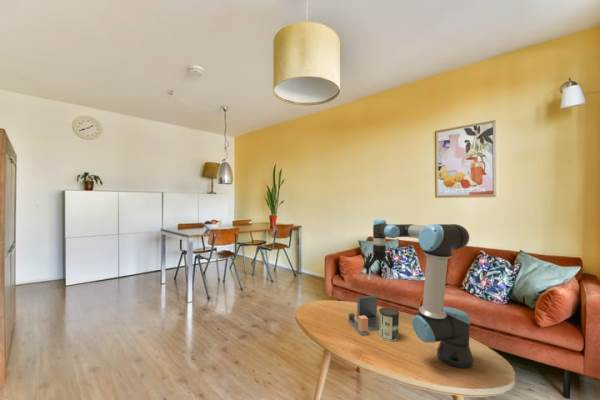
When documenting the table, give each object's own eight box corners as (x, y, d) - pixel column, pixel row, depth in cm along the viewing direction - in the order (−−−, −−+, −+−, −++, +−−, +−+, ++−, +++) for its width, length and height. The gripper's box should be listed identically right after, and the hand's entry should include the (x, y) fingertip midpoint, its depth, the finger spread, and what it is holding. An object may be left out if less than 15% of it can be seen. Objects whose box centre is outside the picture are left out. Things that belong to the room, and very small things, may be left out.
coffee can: (394, 332, 158) (395, 307, 158) (401, 341, 148) (401, 315, 148) (376, 331, 158) (377, 307, 158) (381, 341, 148) (382, 314, 148)
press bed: (388, 328, 162) (388, 304, 162) (369, 331, 159) (370, 306, 159) (374, 317, 178) (374, 295, 177) (357, 319, 175) (357, 296, 174)
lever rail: (366, 335, 154) (367, 326, 154) (361, 335, 153) (362, 326, 153) (353, 321, 171) (353, 313, 171) (348, 321, 170) (348, 313, 170)
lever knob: (367, 330, 154) (368, 318, 154) (361, 331, 153) (361, 319, 153) (364, 327, 158) (364, 315, 158) (357, 328, 157) (358, 316, 157)
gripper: (393, 243, 180) (393, 276, 180) (358, 244, 173) (357, 278, 173) (400, 245, 172) (399, 279, 172) (363, 246, 166) (363, 281, 166)
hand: (378, 278), depth 173 cm, fingers open, 13 cm apart
